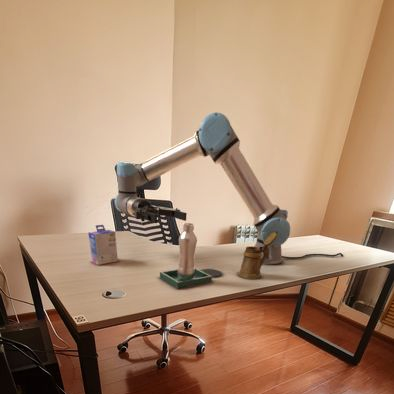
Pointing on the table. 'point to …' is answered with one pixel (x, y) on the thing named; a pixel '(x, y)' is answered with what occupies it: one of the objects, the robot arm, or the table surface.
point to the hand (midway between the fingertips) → (171, 217)
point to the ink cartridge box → (103, 246)
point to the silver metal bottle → (187, 252)
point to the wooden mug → (255, 258)
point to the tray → (178, 283)
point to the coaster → (212, 272)
